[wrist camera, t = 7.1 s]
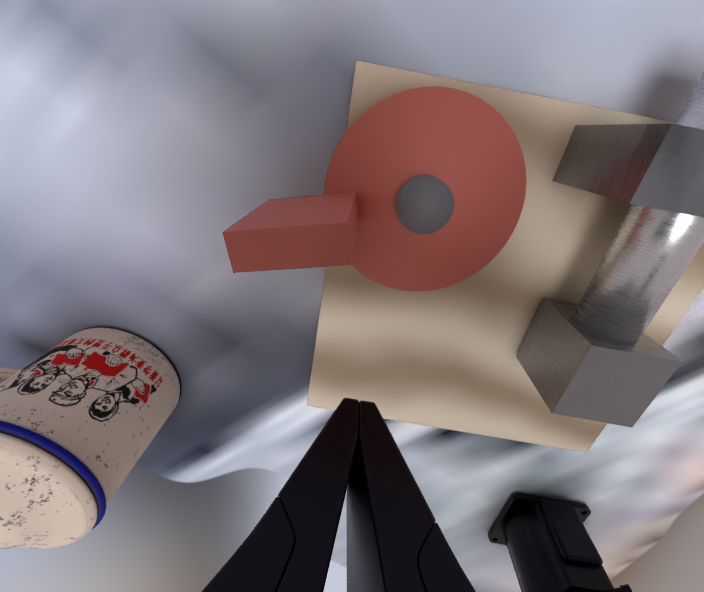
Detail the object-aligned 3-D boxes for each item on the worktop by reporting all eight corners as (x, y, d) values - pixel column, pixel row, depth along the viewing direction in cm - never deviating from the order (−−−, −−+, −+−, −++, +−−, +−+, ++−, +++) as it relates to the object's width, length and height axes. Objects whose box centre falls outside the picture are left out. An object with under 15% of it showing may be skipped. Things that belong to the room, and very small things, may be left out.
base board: (577, 438, 25) (586, 452, 24) (309, 393, 24) (306, 405, 23) (774, 146, 16) (804, 147, 15) (357, 65, 15) (356, 60, 14)
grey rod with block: (580, 367, 20) (632, 427, 16) (516, 356, 20) (551, 413, 16) (756, 75, 14) (917, 53, 10) (660, 56, 13) (783, 26, 9)
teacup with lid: (195, 349, 23) (51, 530, 13) (176, 434, 27) (53, 625, 17) (13, 286, 22) (-318, 432, 11) (20, 386, 26) (-221, 562, 15)
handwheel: (528, 77, 14) (645, 39, 8) (505, 276, 18) (571, 351, 12) (260, 107, 15) (185, 93, 9) (293, 289, 19) (257, 363, 13)
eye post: (713, 211, 16) (857, 246, 11) (552, 181, 16) (629, 203, 11) (747, 158, 15) (924, 172, 10) (575, 125, 15) (672, 123, 10)
